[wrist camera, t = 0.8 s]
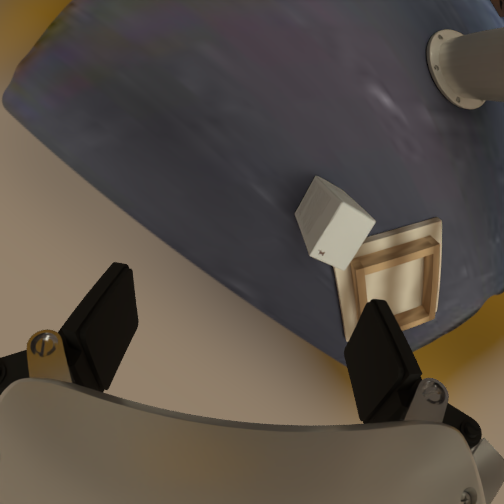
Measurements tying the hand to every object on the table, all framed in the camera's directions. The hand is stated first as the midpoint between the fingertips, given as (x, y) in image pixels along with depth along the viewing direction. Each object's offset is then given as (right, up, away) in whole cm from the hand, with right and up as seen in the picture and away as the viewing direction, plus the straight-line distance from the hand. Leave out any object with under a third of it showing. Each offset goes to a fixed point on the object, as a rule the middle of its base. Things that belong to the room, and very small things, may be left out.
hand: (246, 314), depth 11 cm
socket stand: (+22, -2, +30) cm, 37 cm away
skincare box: (+9, +9, +25) cm, 28 cm away
